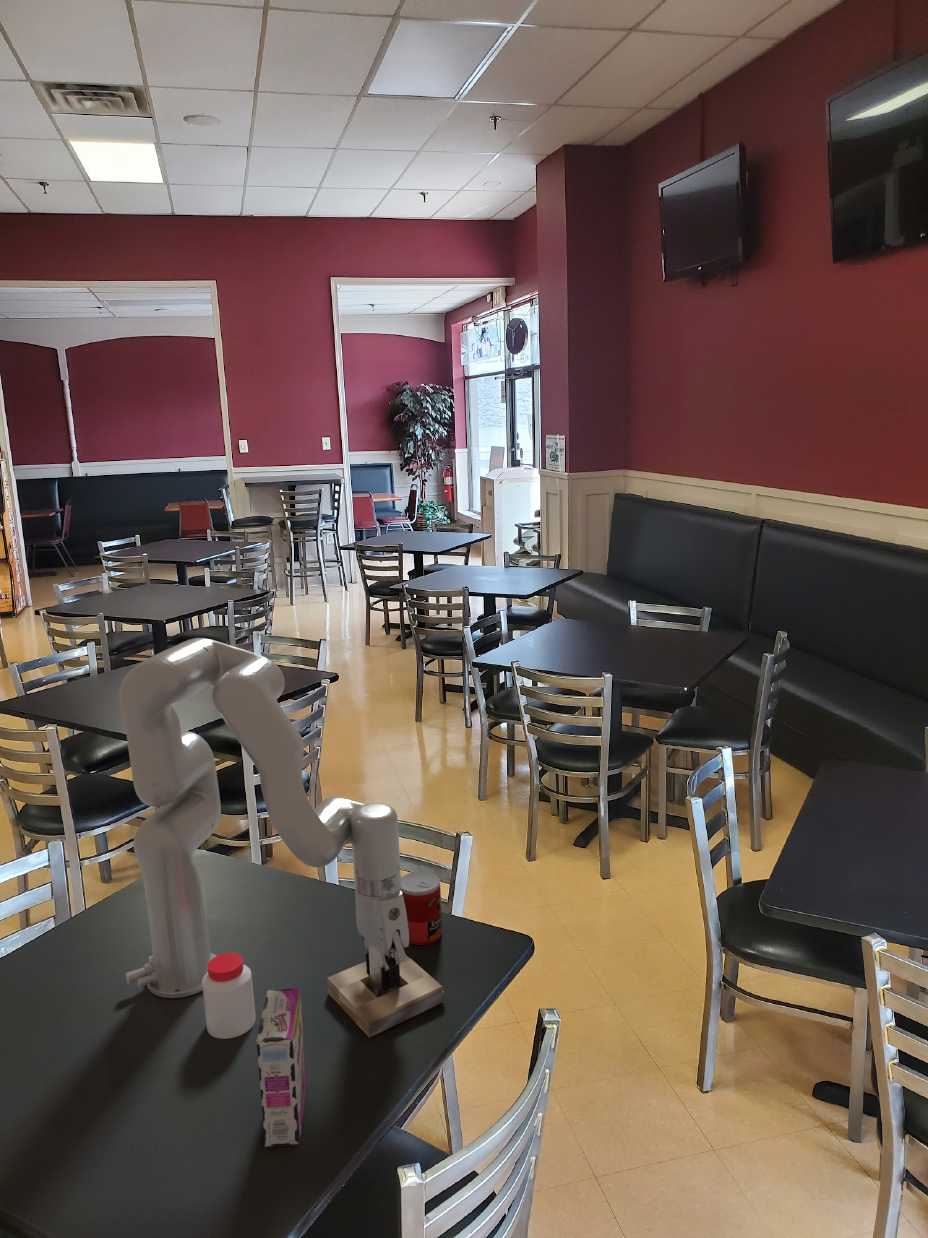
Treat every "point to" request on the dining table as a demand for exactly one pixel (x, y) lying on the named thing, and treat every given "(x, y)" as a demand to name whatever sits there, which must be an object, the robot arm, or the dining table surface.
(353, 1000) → the frame
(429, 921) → the canned food
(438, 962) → the dining table surface
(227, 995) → the pill bottle
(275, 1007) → the candy bar box
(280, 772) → the robot arm
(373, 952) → the frosted glass cylinder
